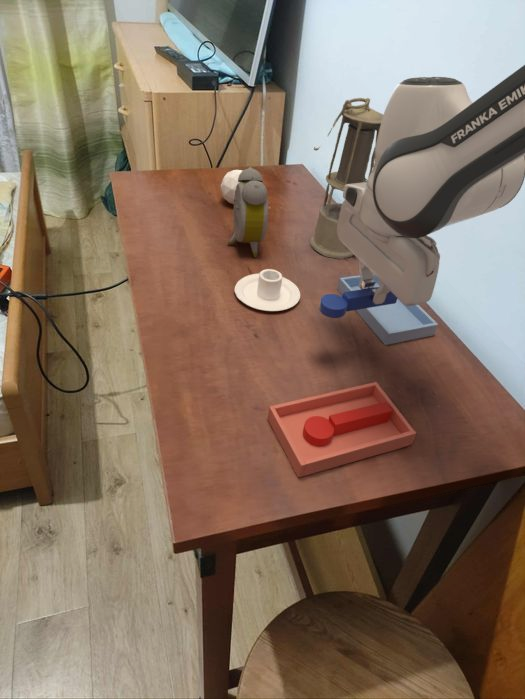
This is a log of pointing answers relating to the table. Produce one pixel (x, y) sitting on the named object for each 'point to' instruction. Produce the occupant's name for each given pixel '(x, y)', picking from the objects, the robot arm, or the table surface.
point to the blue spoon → (350, 302)
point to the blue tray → (392, 317)
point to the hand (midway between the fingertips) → (370, 295)
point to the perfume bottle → (230, 185)
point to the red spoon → (344, 423)
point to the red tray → (344, 446)
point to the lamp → (346, 172)
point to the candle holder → (267, 291)
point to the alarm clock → (250, 210)
